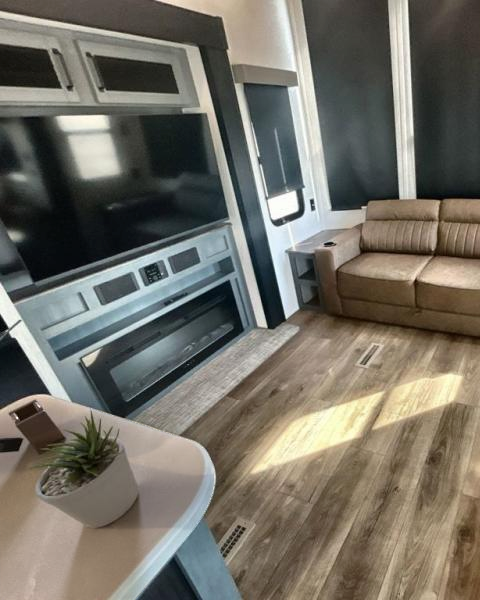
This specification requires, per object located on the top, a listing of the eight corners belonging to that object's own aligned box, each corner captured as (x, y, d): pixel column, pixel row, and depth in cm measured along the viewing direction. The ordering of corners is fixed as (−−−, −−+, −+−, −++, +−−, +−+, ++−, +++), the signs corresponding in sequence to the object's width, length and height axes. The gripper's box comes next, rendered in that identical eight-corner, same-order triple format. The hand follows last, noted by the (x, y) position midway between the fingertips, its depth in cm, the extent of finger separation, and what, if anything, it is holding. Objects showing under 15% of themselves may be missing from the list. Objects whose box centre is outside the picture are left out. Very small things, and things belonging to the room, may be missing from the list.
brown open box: (31, 440, 87) (7, 412, 83) (56, 425, 91) (35, 399, 86) (39, 454, 83) (15, 426, 79) (66, 438, 86) (44, 411, 82)
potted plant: (113, 547, 62) (46, 470, 52) (54, 533, 65) (-18, 459, 56) (169, 481, 72) (122, 407, 63) (116, 471, 76) (64, 400, 66)
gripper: (-187, 468, 62) (-3, 455, 83) (-160, 489, 57) (28, 469, 78) (-163, 423, 64) (11, 421, 85) (-135, 440, 59) (42, 433, 80)
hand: (19, 444), depth 82 cm, fingers closed
